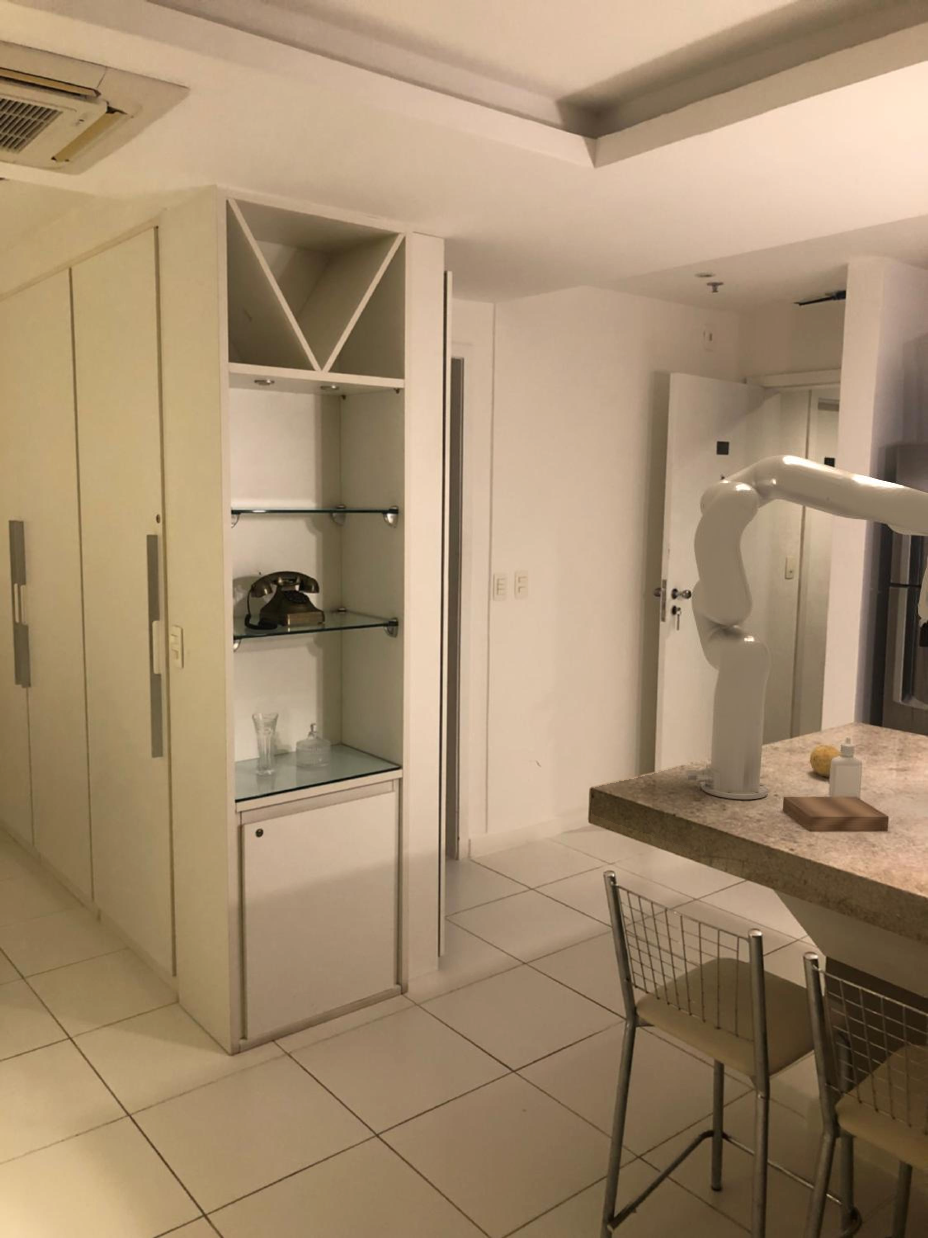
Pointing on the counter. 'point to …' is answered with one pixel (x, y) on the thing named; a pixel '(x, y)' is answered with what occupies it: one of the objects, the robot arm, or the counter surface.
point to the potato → (823, 759)
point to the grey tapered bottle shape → (845, 773)
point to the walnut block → (835, 814)
